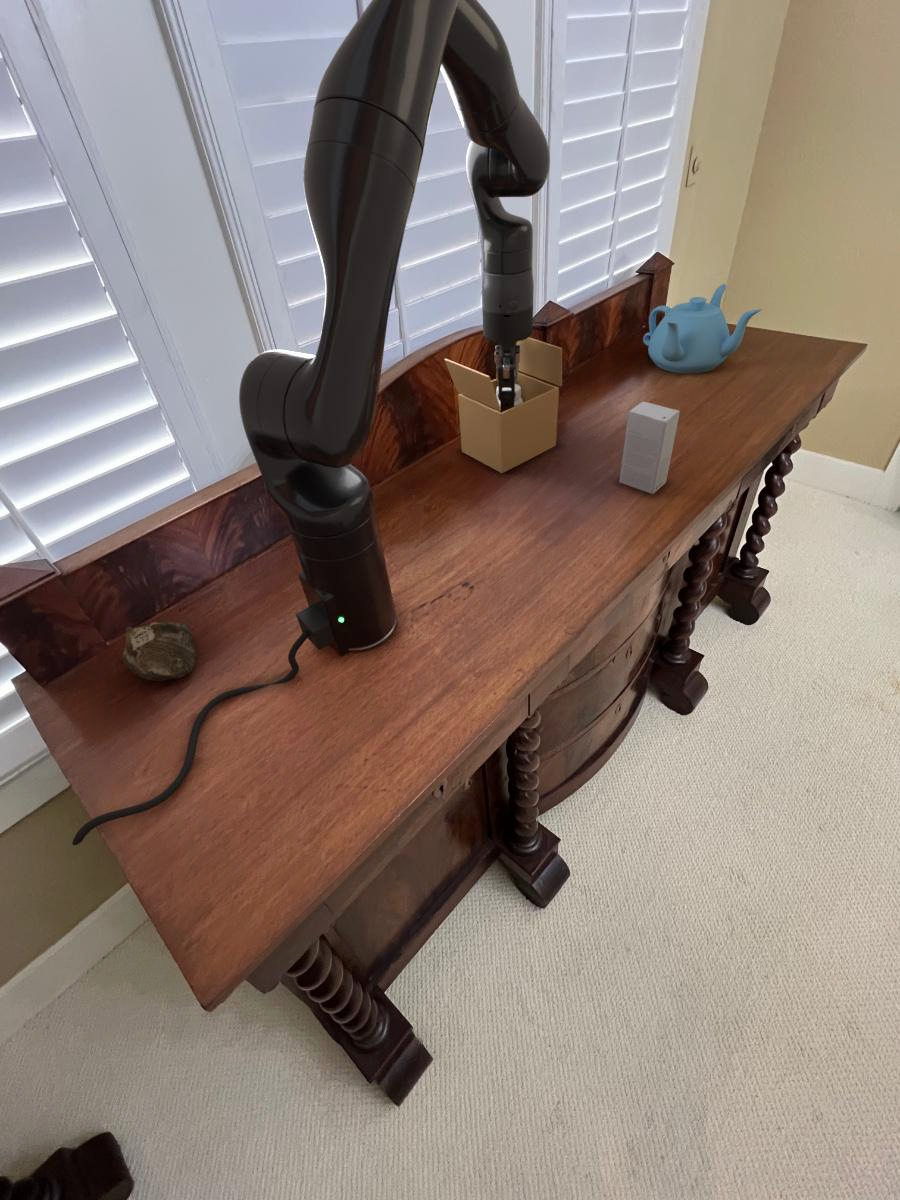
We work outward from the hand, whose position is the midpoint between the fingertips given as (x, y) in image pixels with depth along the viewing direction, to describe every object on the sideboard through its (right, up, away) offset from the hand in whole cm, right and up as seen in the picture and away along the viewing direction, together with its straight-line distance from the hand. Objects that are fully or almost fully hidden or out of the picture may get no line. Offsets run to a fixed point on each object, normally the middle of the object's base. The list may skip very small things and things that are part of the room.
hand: (507, 411), depth 97 cm
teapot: (+41, +18, +26) cm, 52 cm away
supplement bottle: (0, -3, +3) cm, 5 cm away
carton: (+1, -5, +5) cm, 7 cm away
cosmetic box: (+20, -13, -6) cm, 25 cm away
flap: (-6, +2, -8) cm, 10 cm away
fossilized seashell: (-44, -39, -26) cm, 65 cm away
